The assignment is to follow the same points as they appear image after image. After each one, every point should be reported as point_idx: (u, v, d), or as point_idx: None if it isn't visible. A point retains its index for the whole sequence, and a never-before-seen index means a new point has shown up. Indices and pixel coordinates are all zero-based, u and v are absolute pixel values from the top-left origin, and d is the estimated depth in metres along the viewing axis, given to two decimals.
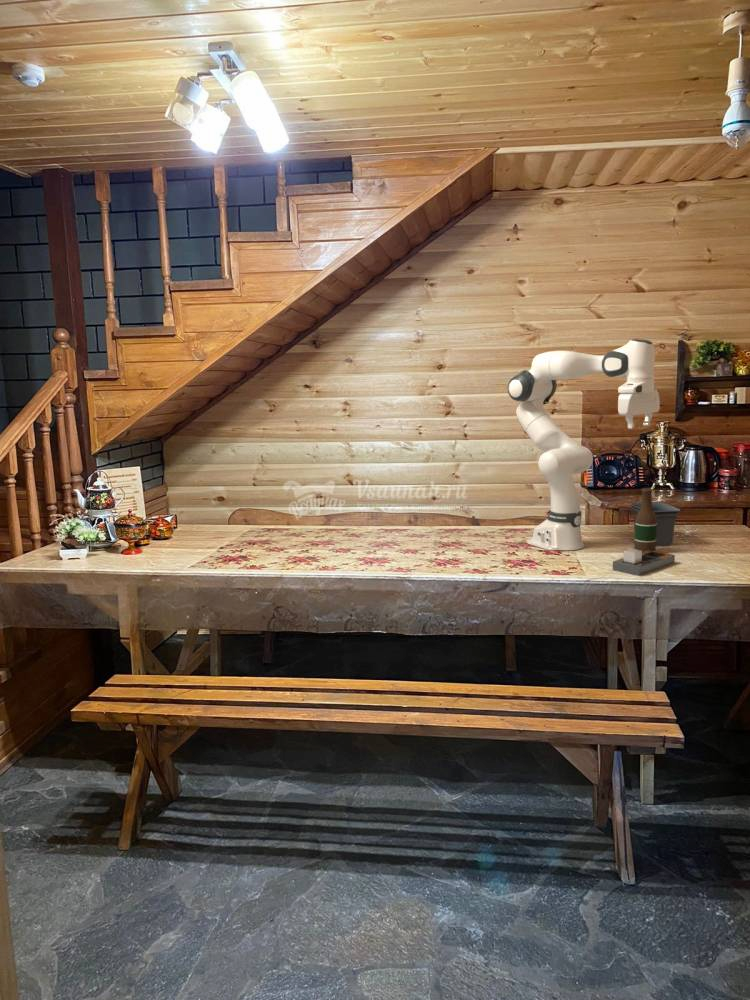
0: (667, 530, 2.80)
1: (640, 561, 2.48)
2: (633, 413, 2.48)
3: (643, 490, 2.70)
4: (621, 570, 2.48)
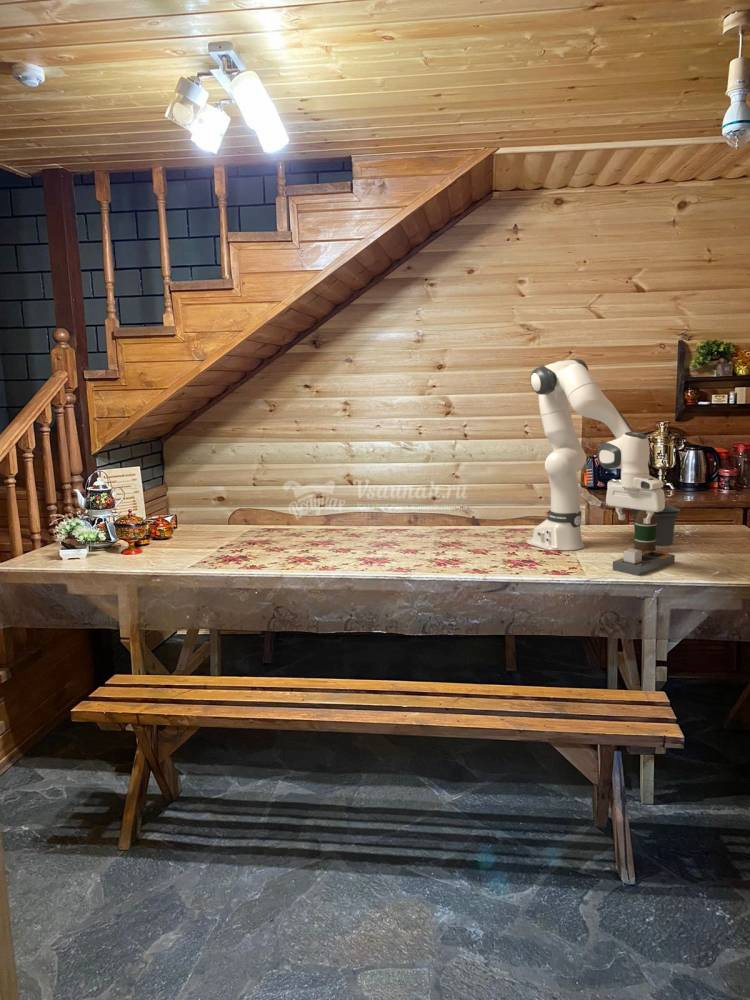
0: (667, 530, 2.80)
1: (640, 561, 2.48)
2: None
3: None
4: (621, 570, 2.48)
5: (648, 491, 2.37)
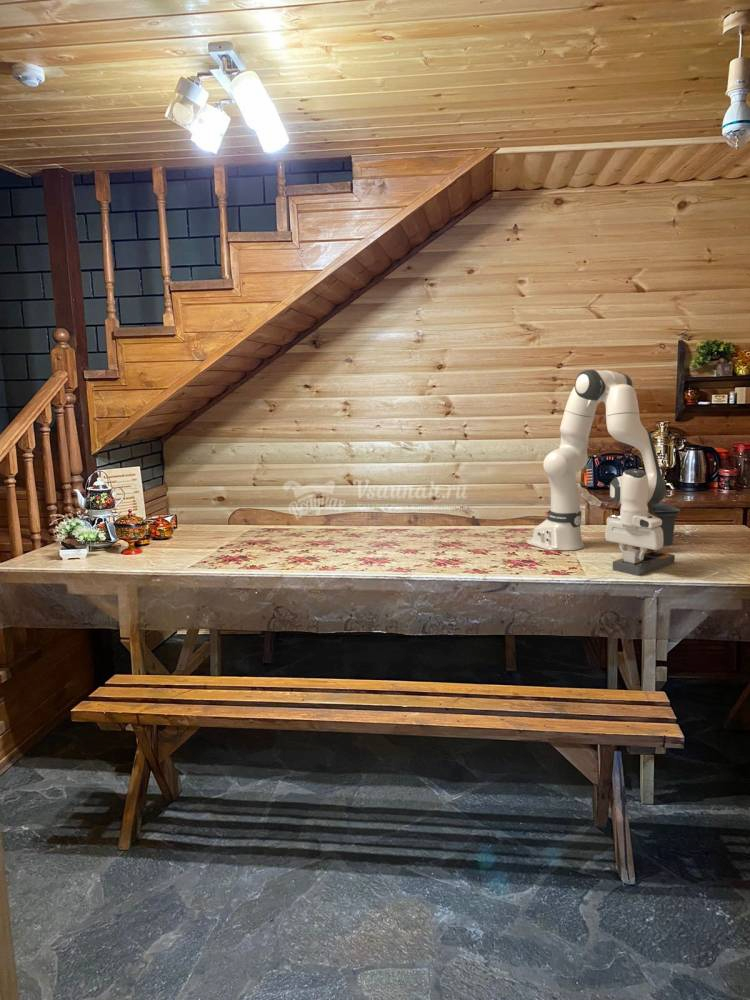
0: (667, 530, 2.80)
1: (640, 561, 2.48)
2: None
3: None
4: (621, 570, 2.48)
5: (647, 529, 2.40)
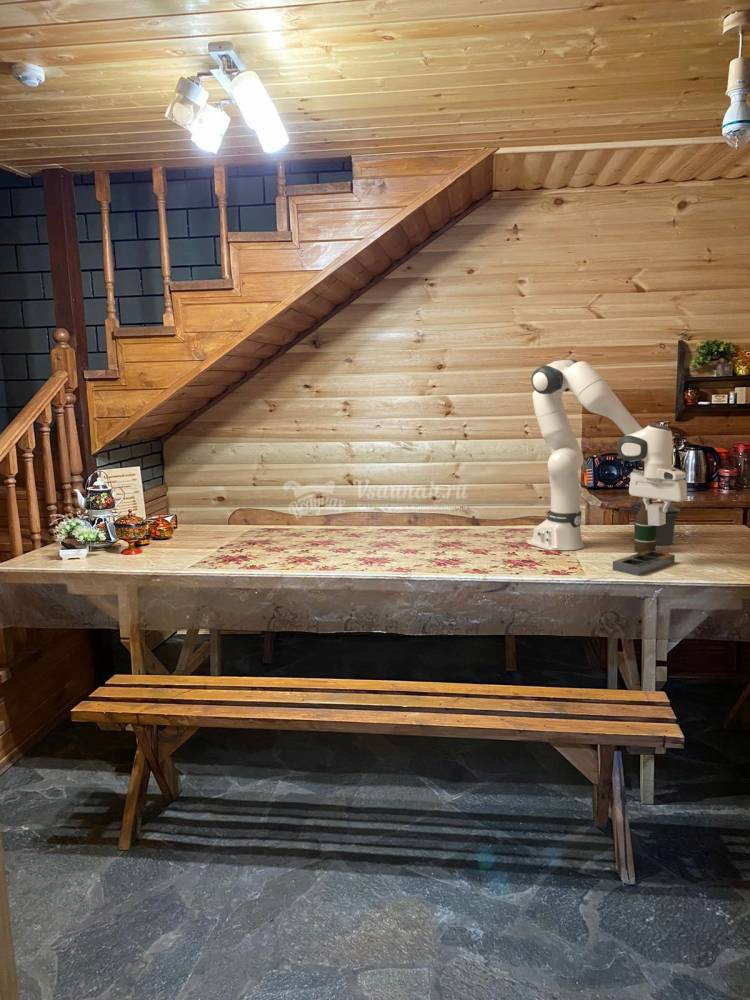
0: (667, 530, 2.80)
1: (664, 514, 2.54)
2: None
3: None
4: (621, 570, 2.48)
5: (671, 482, 2.46)
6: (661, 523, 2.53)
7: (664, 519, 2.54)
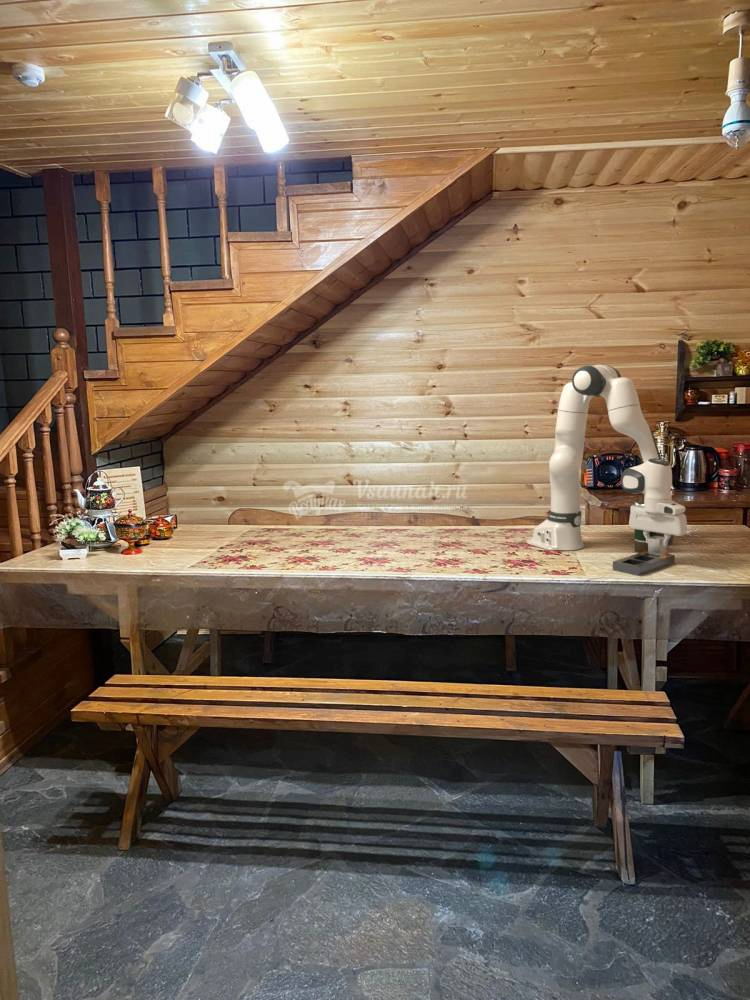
0: None
1: (664, 547, 2.56)
2: None
3: None
4: (621, 570, 2.48)
5: (671, 516, 2.48)
6: None
7: (664, 552, 2.56)
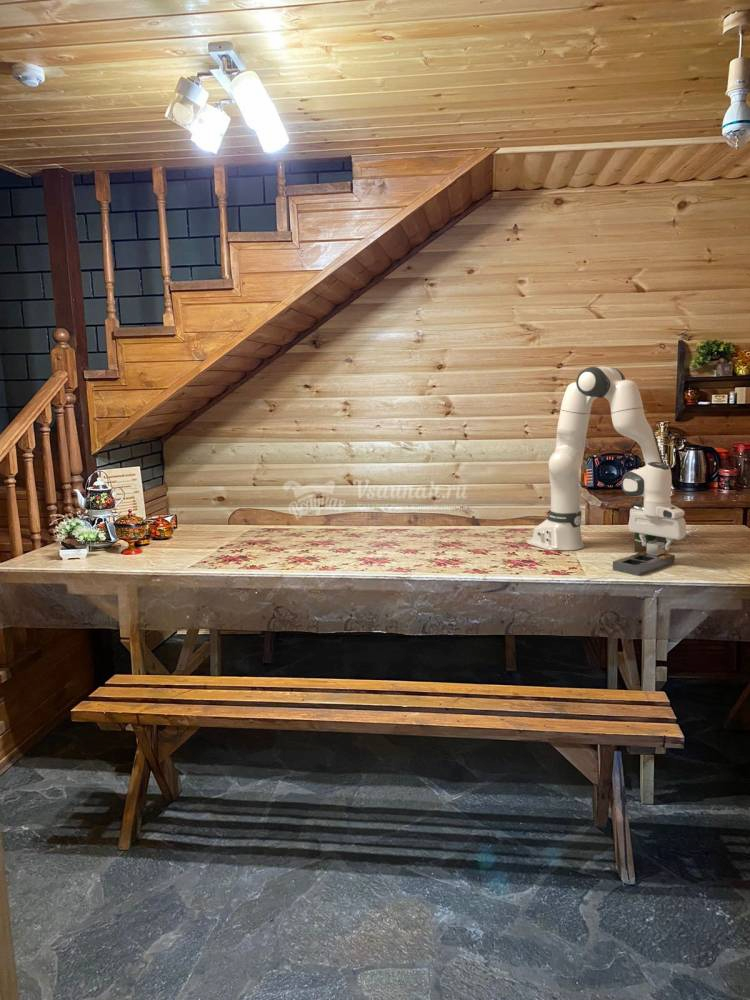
0: None
1: (662, 553, 2.57)
2: None
3: None
4: (621, 570, 2.48)
5: (670, 520, 2.48)
6: None
7: None
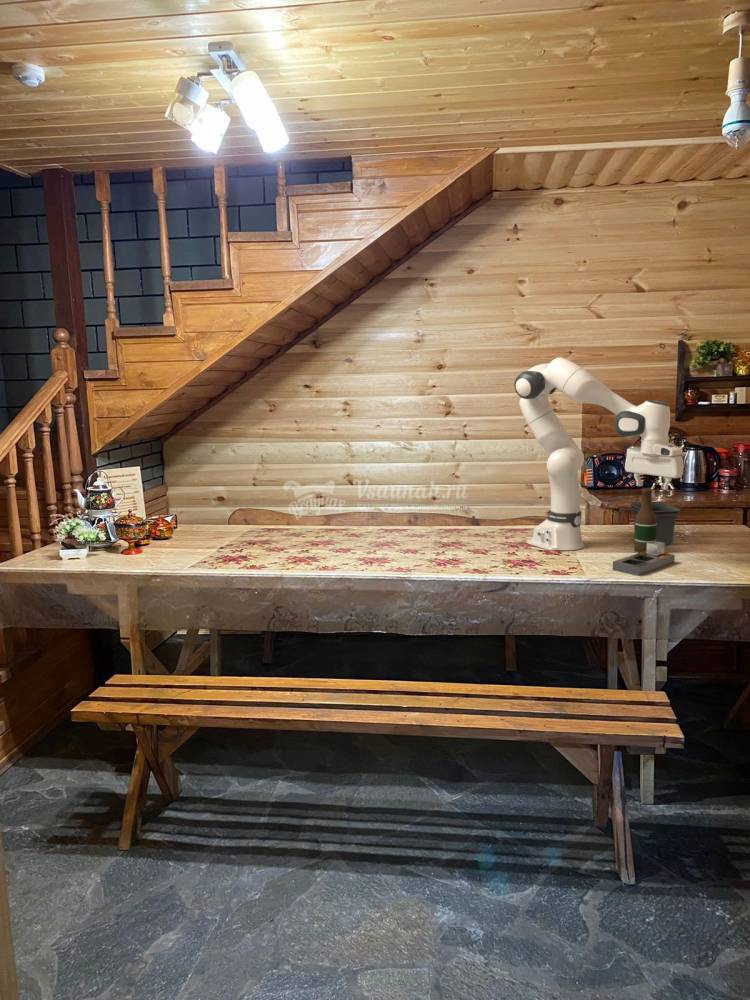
0: (667, 530, 2.80)
1: (662, 553, 2.57)
2: None
3: (643, 490, 2.70)
4: (621, 570, 2.48)
5: (668, 457, 2.44)
6: None
7: None
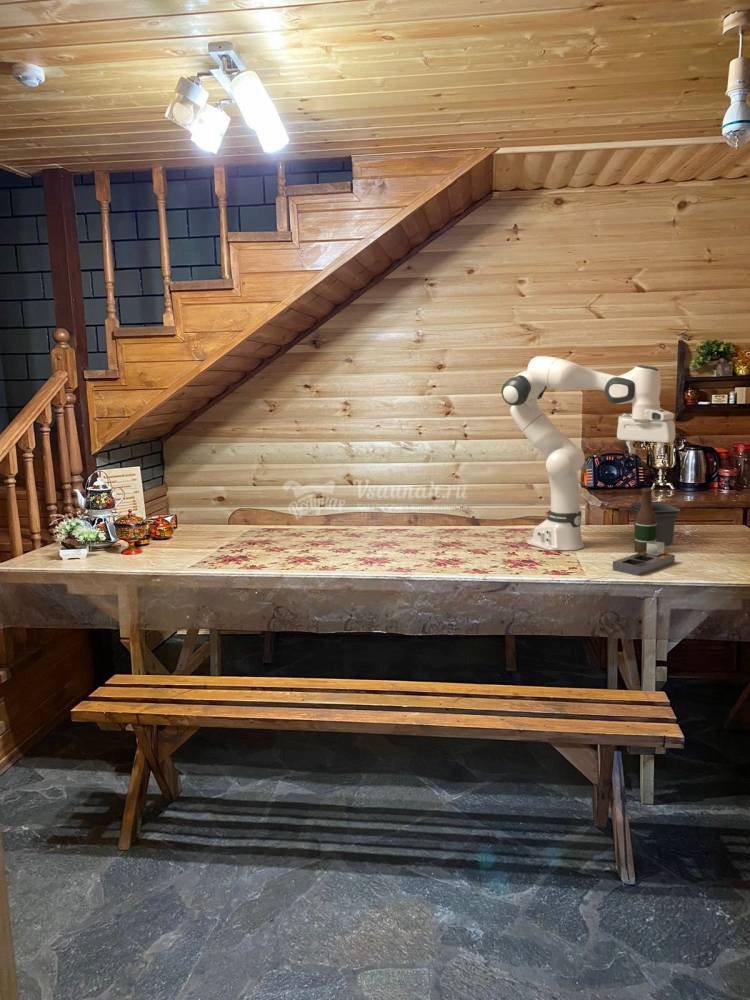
0: (667, 530, 2.80)
1: (662, 553, 2.57)
2: None
3: (643, 490, 2.70)
4: (621, 570, 2.48)
5: (659, 422, 2.42)
6: None
7: None
